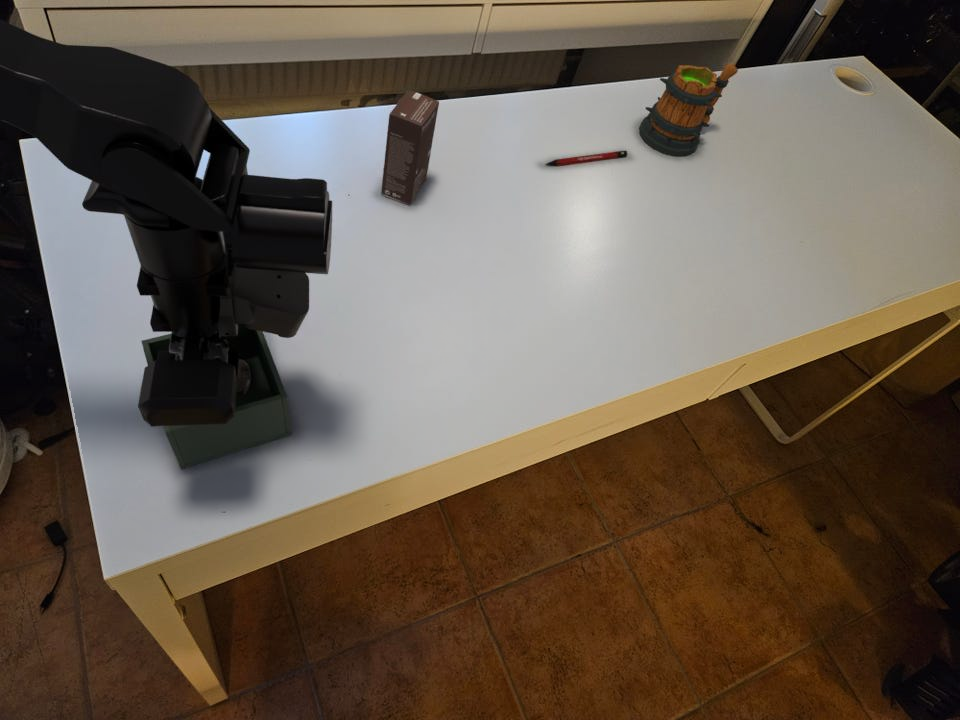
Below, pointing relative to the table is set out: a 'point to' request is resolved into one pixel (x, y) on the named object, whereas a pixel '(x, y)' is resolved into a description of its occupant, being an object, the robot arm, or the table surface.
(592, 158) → the pencil
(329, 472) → the table surface
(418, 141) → the box
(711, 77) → the mug
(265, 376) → the bin
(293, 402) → the table surface
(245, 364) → the block
